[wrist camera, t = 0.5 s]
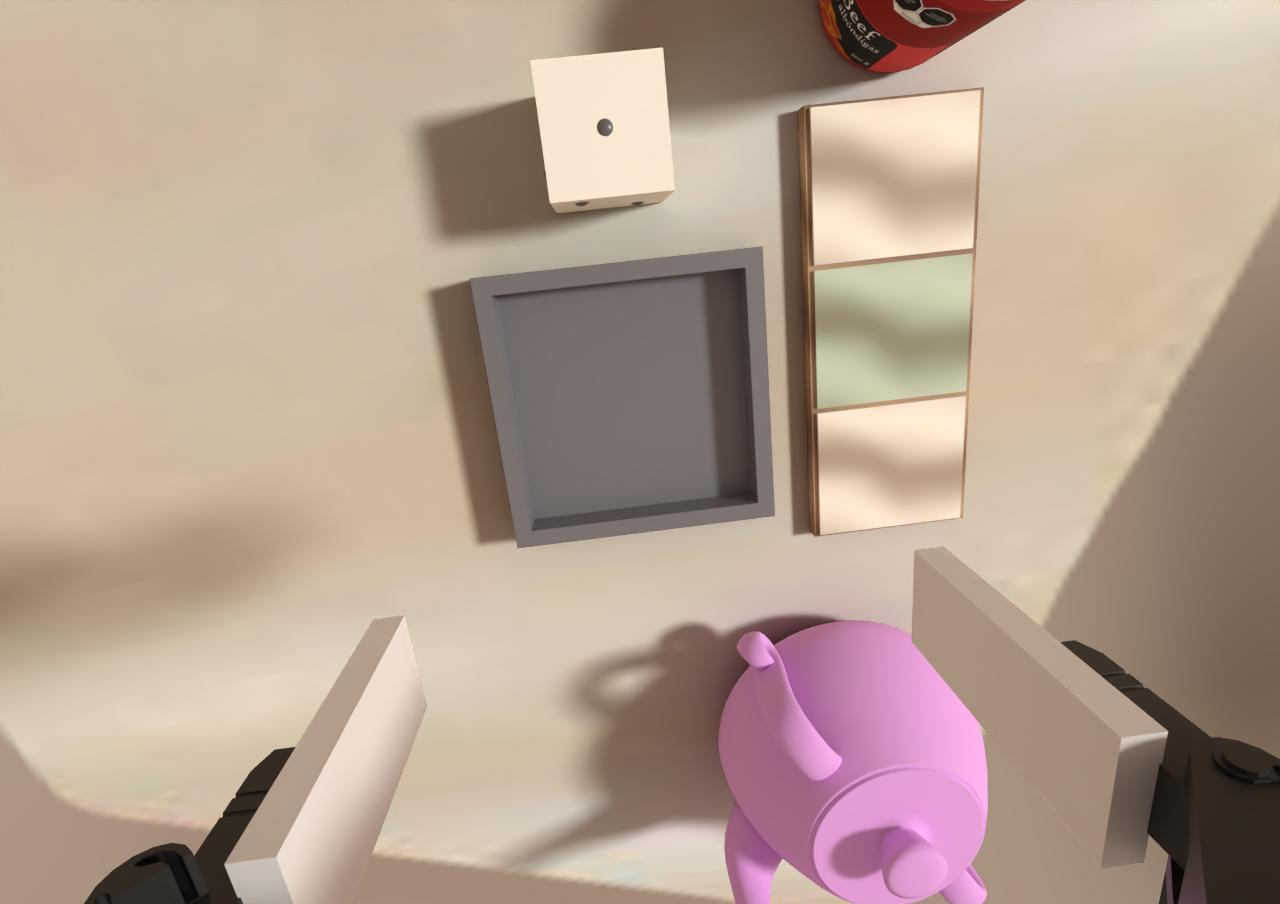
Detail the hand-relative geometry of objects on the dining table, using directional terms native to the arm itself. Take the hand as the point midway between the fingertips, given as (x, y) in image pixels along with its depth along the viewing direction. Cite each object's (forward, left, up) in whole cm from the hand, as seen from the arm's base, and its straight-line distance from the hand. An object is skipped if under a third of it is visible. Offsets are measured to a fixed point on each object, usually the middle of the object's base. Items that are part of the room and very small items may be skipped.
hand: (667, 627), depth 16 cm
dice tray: (-1, +1, -24) cm, 24 cm away
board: (-9, +17, -24) cm, 30 cm away
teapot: (+25, +11, -24) cm, 36 cm away
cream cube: (-15, +1, -24) cm, 28 cm away
